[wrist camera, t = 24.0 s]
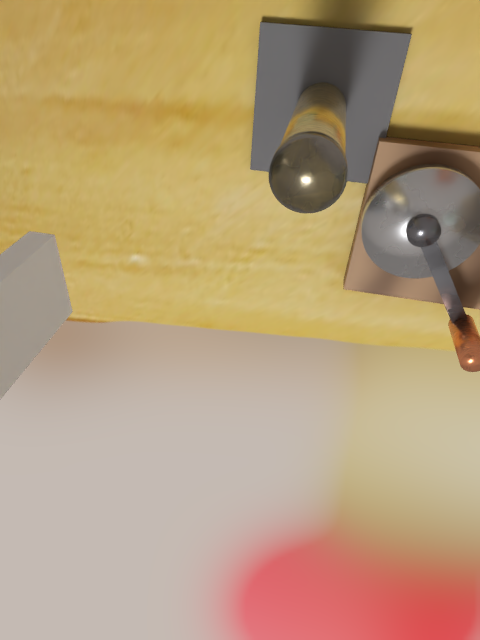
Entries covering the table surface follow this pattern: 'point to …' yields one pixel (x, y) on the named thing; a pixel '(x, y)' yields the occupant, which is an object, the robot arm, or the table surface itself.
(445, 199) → the handwheel
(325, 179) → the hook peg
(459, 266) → the mount board
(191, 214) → the table surface
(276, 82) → the mat
